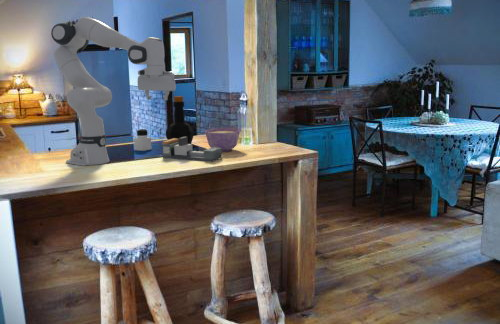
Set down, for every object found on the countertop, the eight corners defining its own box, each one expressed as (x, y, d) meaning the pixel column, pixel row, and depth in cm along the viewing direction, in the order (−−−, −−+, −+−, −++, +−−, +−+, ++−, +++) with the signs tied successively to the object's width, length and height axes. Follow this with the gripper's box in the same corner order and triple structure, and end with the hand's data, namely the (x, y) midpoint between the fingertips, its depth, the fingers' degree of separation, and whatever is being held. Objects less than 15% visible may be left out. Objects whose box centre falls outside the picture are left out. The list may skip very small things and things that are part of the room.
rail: (162, 157, 264) (161, 144, 263) (173, 154, 274) (172, 141, 272) (212, 161, 253) (211, 147, 251) (221, 157, 262) (220, 144, 260)
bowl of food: (247, 150, 281) (246, 130, 278) (216, 155, 270) (216, 134, 267) (228, 146, 297) (228, 127, 294) (199, 150, 286) (198, 130, 284)
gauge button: (162, 143, 262) (162, 141, 262) (173, 140, 272) (173, 138, 272) (167, 144, 261) (167, 141, 261) (178, 140, 271) (178, 138, 271)
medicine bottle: (151, 149, 291) (150, 129, 288) (143, 151, 285) (142, 130, 282) (143, 148, 294) (141, 128, 292) (134, 150, 289) (133, 129, 286)
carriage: (174, 154, 263) (173, 138, 261) (181, 152, 269) (180, 136, 267) (186, 155, 260) (185, 138, 258) (192, 153, 267) (192, 136, 265)
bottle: (182, 148, 290) (180, 97, 284) (161, 146, 299) (159, 96, 293) (199, 144, 303) (197, 95, 297) (178, 142, 312) (176, 95, 306)
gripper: (177, 71, 239) (178, 100, 242) (142, 71, 247) (143, 98, 250) (170, 71, 234) (171, 101, 237) (135, 71, 242) (136, 99, 244)
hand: (157, 99), depth 243 cm, fingers open, 8 cm apart
